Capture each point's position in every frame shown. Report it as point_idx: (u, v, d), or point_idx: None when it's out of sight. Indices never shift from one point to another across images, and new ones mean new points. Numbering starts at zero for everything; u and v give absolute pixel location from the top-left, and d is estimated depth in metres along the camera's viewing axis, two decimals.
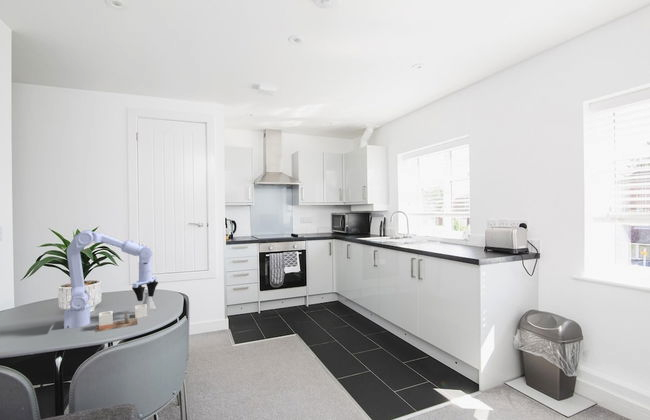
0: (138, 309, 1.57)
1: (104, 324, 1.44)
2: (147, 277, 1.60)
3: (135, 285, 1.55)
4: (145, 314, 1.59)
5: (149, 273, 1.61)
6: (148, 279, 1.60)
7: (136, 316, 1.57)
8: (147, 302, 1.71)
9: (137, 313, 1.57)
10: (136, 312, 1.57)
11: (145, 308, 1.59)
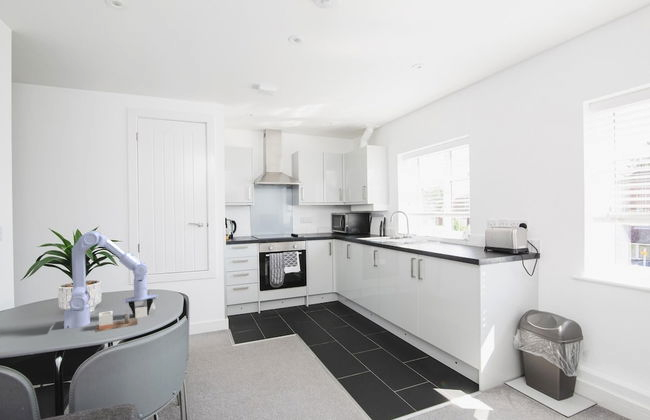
0: (138, 309, 1.57)
1: (104, 324, 1.44)
2: (137, 295, 1.57)
3: (123, 301, 1.56)
4: (145, 314, 1.59)
5: (139, 291, 1.57)
6: (138, 297, 1.57)
7: (136, 316, 1.57)
8: None
9: (137, 313, 1.57)
10: (136, 312, 1.57)
11: (145, 308, 1.59)
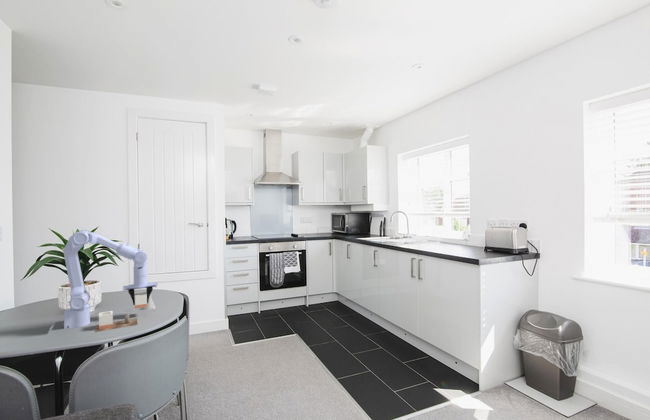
0: (138, 296, 1.57)
1: (104, 324, 1.44)
2: (137, 282, 1.57)
3: (123, 288, 1.56)
4: (145, 302, 1.59)
5: (139, 278, 1.57)
6: (138, 284, 1.57)
7: (136, 303, 1.57)
8: None
9: (137, 300, 1.57)
10: (136, 299, 1.57)
11: (145, 296, 1.59)
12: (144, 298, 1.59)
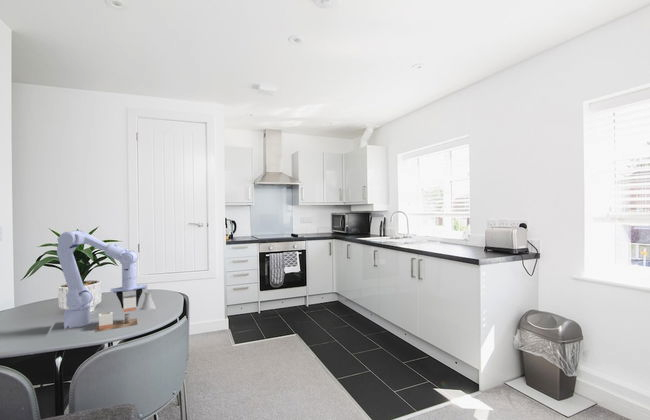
0: (126, 299, 1.49)
1: (104, 324, 1.44)
2: (125, 284, 1.49)
3: None
4: (134, 305, 1.51)
5: (127, 280, 1.49)
6: (126, 287, 1.49)
7: (124, 307, 1.49)
8: (147, 302, 1.71)
9: (125, 304, 1.49)
10: (124, 303, 1.49)
11: (134, 299, 1.51)
12: (133, 301, 1.51)
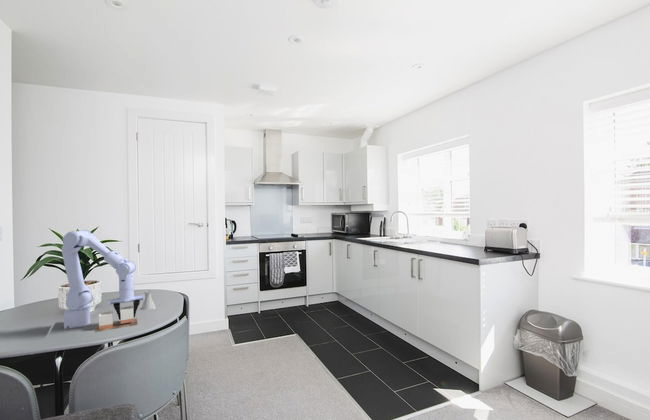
0: (124, 311, 1.47)
1: (104, 324, 1.44)
2: (122, 296, 1.47)
3: None
4: (131, 316, 1.49)
5: (125, 291, 1.47)
6: (123, 298, 1.47)
7: (121, 318, 1.47)
8: (147, 302, 1.71)
9: (122, 315, 1.47)
10: (121, 314, 1.47)
11: (131, 310, 1.49)
12: (130, 312, 1.49)
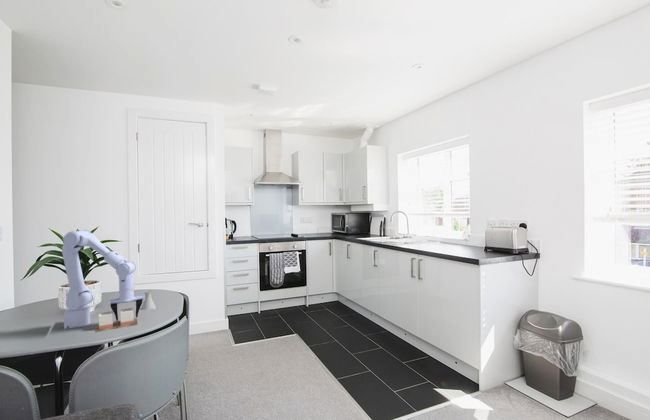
0: (124, 313, 1.47)
1: (104, 324, 1.44)
2: (122, 296, 1.47)
3: None
4: (131, 318, 1.49)
5: (125, 292, 1.47)
6: (123, 298, 1.47)
7: (121, 320, 1.47)
8: (147, 302, 1.71)
9: (122, 317, 1.47)
10: (121, 316, 1.47)
11: (131, 312, 1.49)
12: (130, 314, 1.49)
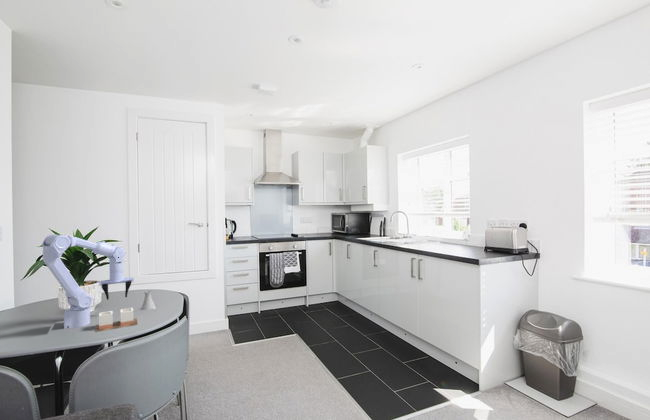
0: (124, 313, 1.47)
1: (104, 324, 1.44)
2: (112, 277, 1.60)
3: None
4: (131, 318, 1.49)
5: (114, 273, 1.60)
6: (113, 279, 1.60)
7: (121, 320, 1.47)
8: (147, 302, 1.71)
9: (122, 317, 1.47)
10: (121, 316, 1.47)
11: (131, 312, 1.49)
12: (130, 314, 1.49)
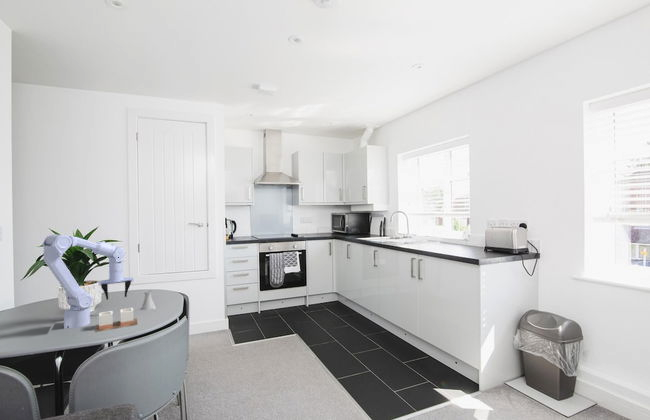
0: (124, 313, 1.47)
1: (104, 324, 1.44)
2: (112, 277, 1.60)
3: None
4: (131, 318, 1.49)
5: (114, 273, 1.60)
6: (113, 279, 1.60)
7: (121, 320, 1.47)
8: (147, 302, 1.71)
9: (122, 317, 1.47)
10: (121, 316, 1.47)
11: (131, 312, 1.49)
12: (130, 314, 1.49)
